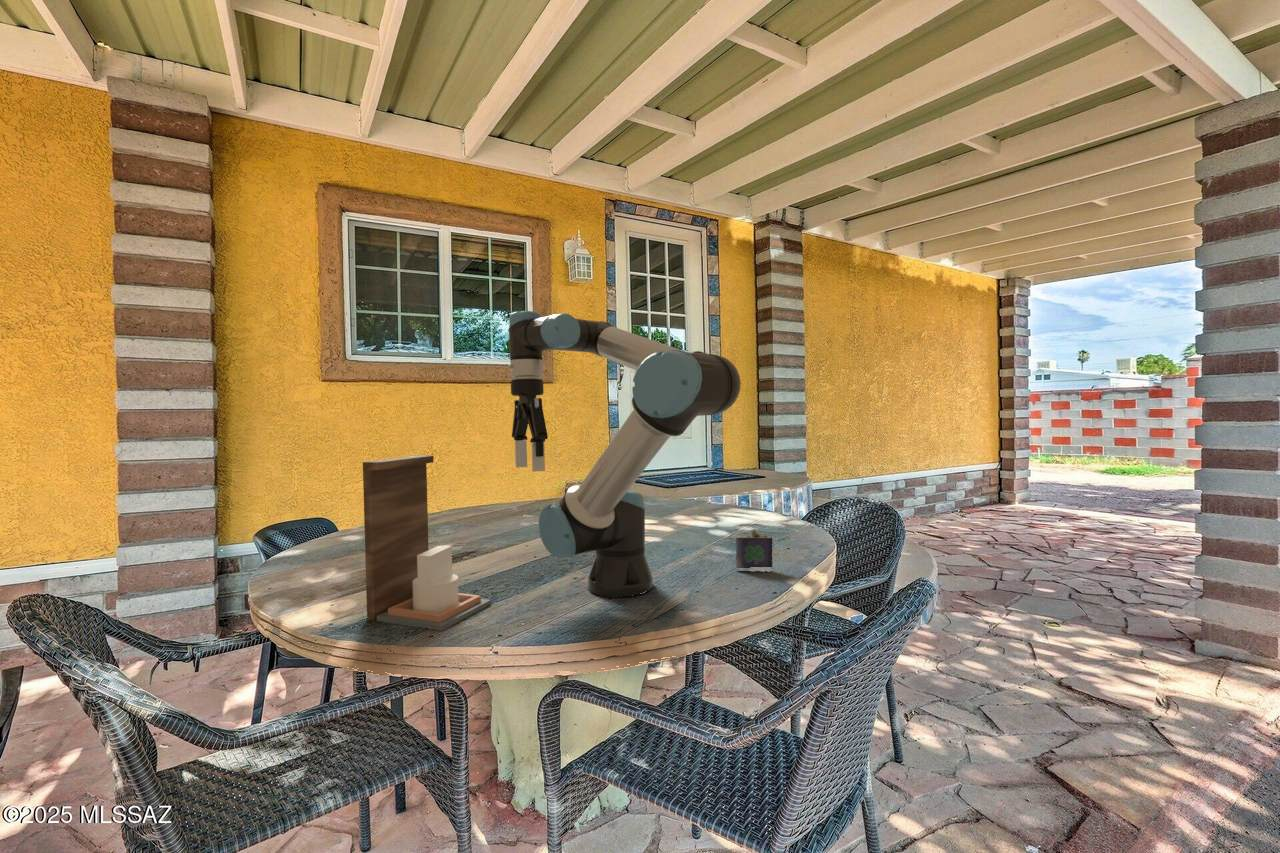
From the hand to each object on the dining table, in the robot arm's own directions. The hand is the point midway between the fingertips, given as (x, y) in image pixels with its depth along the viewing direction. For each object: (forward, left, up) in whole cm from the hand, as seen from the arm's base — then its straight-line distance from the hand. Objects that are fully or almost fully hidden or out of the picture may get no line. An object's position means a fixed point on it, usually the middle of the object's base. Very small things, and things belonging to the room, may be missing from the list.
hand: (529, 469), depth 139 cm
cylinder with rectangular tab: (+10, +22, -27) cm, 36 cm away
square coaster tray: (+10, +22, -28) cm, 37 cm away
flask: (-47, -30, -28) cm, 63 cm away
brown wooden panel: (+19, +22, -28) cm, 40 cm away
